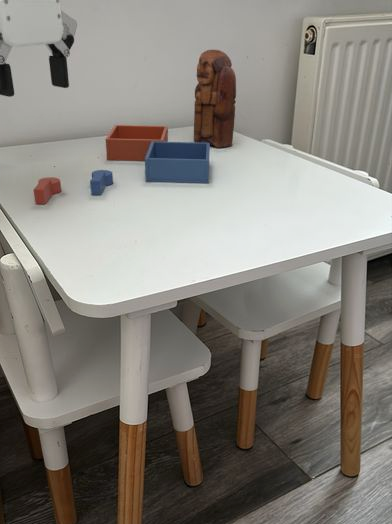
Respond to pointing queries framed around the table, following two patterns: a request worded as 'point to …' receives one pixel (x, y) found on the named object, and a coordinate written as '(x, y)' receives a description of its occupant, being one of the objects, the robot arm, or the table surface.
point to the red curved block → (46, 189)
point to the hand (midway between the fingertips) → (34, 90)
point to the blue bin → (177, 162)
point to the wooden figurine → (214, 99)
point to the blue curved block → (100, 181)
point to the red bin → (133, 141)
